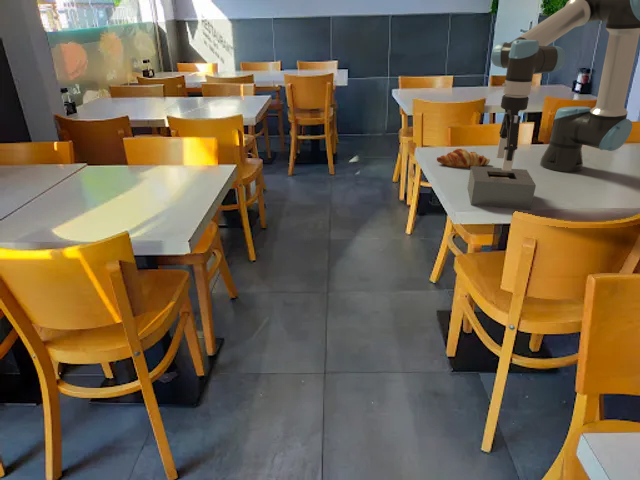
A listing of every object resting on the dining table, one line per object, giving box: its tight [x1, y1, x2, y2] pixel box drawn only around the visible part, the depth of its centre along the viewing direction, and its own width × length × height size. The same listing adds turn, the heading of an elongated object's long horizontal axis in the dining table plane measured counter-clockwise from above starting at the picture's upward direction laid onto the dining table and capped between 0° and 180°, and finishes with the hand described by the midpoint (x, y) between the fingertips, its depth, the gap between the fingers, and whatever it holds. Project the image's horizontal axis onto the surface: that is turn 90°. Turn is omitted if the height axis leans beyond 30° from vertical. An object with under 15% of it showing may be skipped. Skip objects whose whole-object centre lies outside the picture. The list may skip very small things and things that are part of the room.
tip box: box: [467, 166, 537, 211], centre depth 158 cm, size 18×16×8 cm
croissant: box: [436, 148, 491, 169], centre depth 193 cm, size 21×10×8 cm, turn 92°
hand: (503, 164), depth 155 cm, fingers open, 13 cm apart
